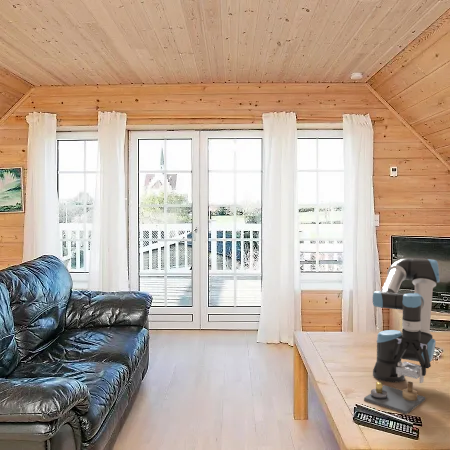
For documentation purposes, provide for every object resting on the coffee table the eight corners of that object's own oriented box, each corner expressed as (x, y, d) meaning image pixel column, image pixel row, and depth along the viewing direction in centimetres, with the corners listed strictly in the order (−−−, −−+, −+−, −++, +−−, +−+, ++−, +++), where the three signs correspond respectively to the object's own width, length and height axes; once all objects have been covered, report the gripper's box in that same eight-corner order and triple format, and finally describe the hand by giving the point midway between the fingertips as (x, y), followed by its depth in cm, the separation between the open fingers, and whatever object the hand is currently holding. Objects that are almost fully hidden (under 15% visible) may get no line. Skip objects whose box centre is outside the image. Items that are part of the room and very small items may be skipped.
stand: (405, 394, 206) (406, 378, 205) (419, 398, 201) (419, 382, 201) (400, 398, 201) (400, 382, 201) (413, 402, 197) (414, 386, 197)
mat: (384, 387, 216) (384, 385, 216) (425, 399, 203) (425, 397, 203) (364, 400, 202) (364, 397, 202) (406, 414, 188) (406, 411, 188)
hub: (375, 391, 208) (375, 378, 208) (390, 396, 203) (390, 383, 203) (367, 396, 203) (368, 383, 203) (382, 401, 198) (383, 387, 198)
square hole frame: (404, 367, 208) (404, 361, 208) (424, 373, 201) (424, 366, 201) (396, 373, 201) (396, 366, 201) (416, 379, 195) (416, 372, 195)
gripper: (383, 326, 205) (383, 375, 207) (433, 336, 190) (432, 388, 191) (391, 322, 210) (390, 370, 212) (440, 332, 195) (439, 383, 197)
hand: (410, 379), depth 202 cm, fingers closed on square hole frame, 9 cm apart
